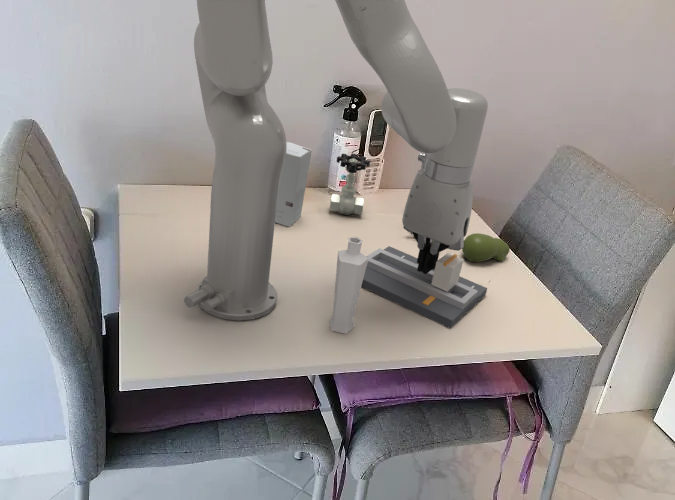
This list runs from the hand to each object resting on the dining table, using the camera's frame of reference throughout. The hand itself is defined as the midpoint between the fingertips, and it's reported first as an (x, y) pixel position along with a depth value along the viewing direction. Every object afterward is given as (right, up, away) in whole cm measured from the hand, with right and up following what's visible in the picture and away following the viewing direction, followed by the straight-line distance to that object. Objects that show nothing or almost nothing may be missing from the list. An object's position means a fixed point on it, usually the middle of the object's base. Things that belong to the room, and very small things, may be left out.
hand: (425, 269), depth 116 cm
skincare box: (-27, +10, +19) cm, 34 cm away
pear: (+13, +2, +16) cm, 21 cm away
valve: (-13, +11, +25) cm, 30 cm away
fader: (+3, -3, -1) cm, 4 cm away
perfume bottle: (-14, -8, -11) cm, 20 cm away
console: (-1, -3, +2) cm, 4 cm away
